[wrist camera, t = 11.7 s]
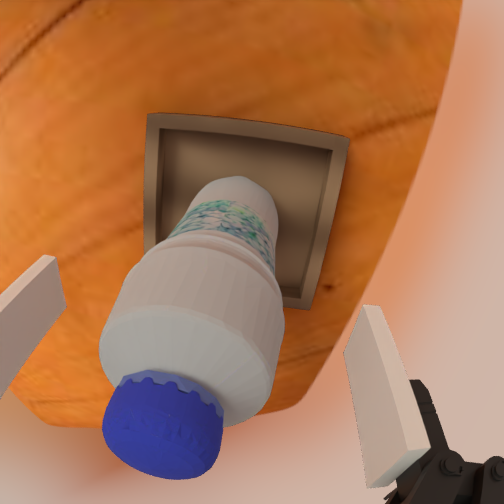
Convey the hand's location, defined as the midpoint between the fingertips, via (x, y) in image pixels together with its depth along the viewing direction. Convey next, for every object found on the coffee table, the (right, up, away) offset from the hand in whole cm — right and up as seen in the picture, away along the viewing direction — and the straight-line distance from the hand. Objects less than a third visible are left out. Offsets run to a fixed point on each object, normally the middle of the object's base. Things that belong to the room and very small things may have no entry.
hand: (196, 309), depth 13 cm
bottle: (+1, +5, +12) cm, 13 cm away
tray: (+1, +6, +13) cm, 14 cm away
